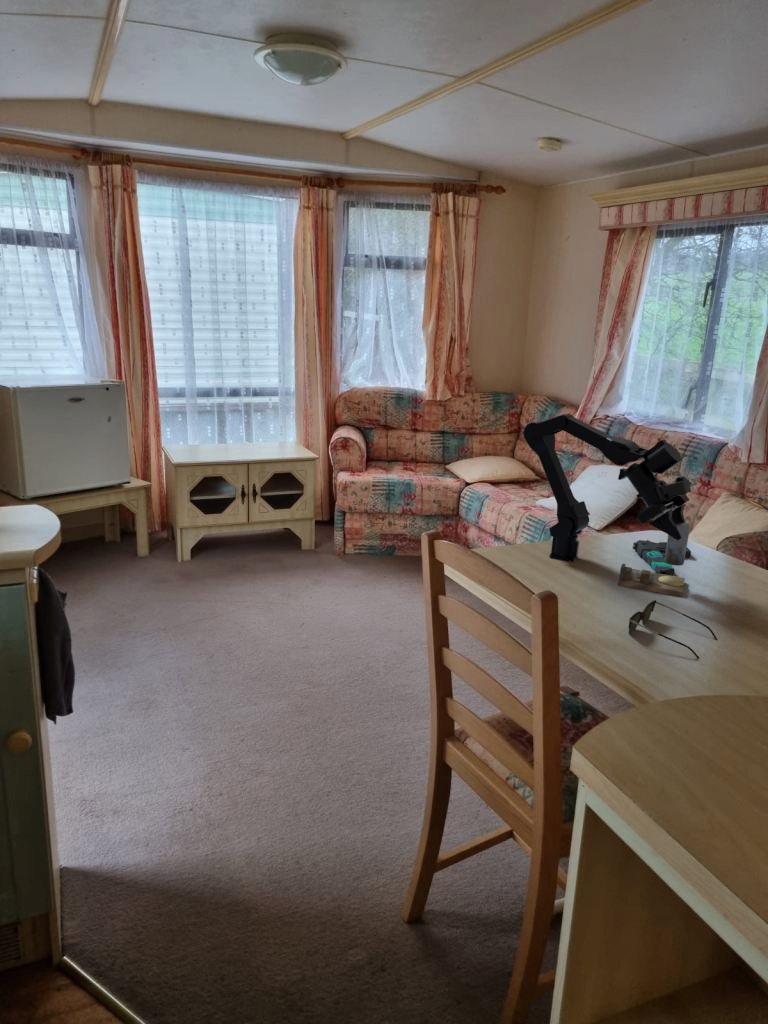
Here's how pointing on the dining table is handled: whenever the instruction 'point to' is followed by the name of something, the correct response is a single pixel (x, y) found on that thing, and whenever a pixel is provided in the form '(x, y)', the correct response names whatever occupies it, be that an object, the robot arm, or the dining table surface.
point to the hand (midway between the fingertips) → (683, 537)
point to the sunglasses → (646, 615)
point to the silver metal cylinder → (677, 545)
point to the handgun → (656, 555)
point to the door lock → (651, 581)
